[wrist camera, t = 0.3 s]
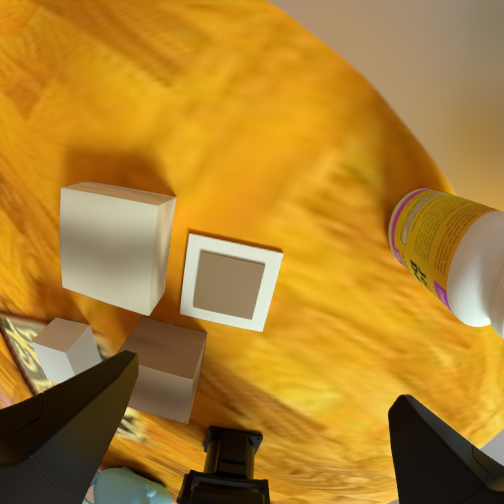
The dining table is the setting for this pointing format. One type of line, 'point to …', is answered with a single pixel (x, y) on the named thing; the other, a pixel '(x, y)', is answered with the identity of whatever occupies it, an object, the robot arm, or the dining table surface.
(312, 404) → the dining table surface
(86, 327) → the grey cube
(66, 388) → the robot arm
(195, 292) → the walnut card
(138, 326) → the walnut cube
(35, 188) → the dining table surface
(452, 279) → the supplement bottle
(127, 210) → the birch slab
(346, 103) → the dining table surface
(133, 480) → the decorative pot
